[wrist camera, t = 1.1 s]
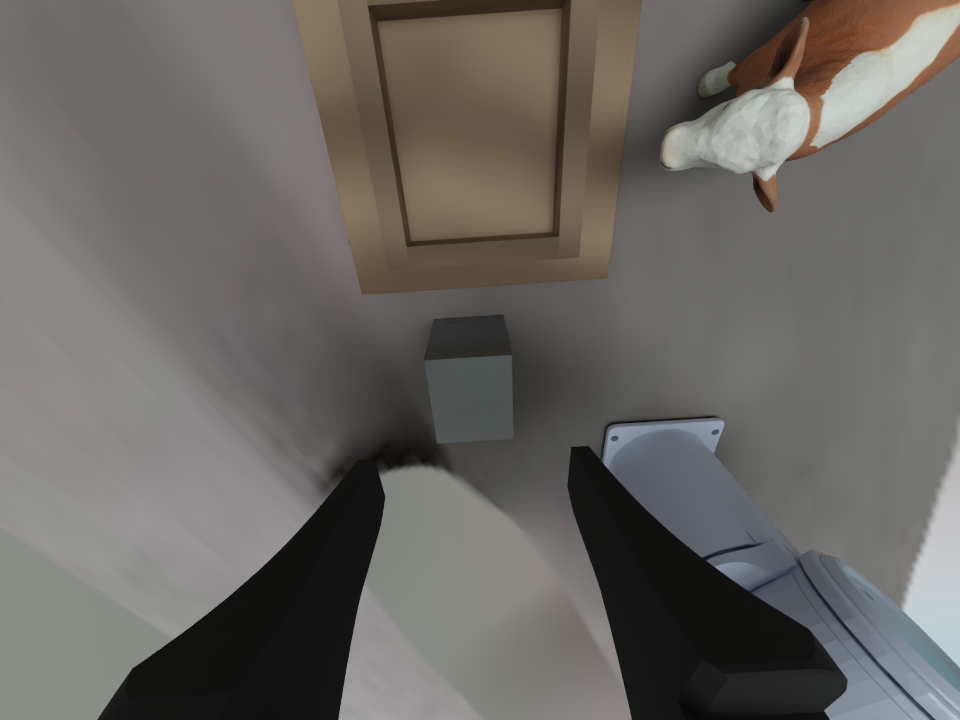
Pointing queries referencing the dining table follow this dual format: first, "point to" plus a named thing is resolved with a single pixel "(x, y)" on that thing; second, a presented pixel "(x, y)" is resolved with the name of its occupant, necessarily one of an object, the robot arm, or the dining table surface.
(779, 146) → the bull figurine
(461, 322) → the grey wood-grain block
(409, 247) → the brown square tray
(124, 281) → the dining table surface
